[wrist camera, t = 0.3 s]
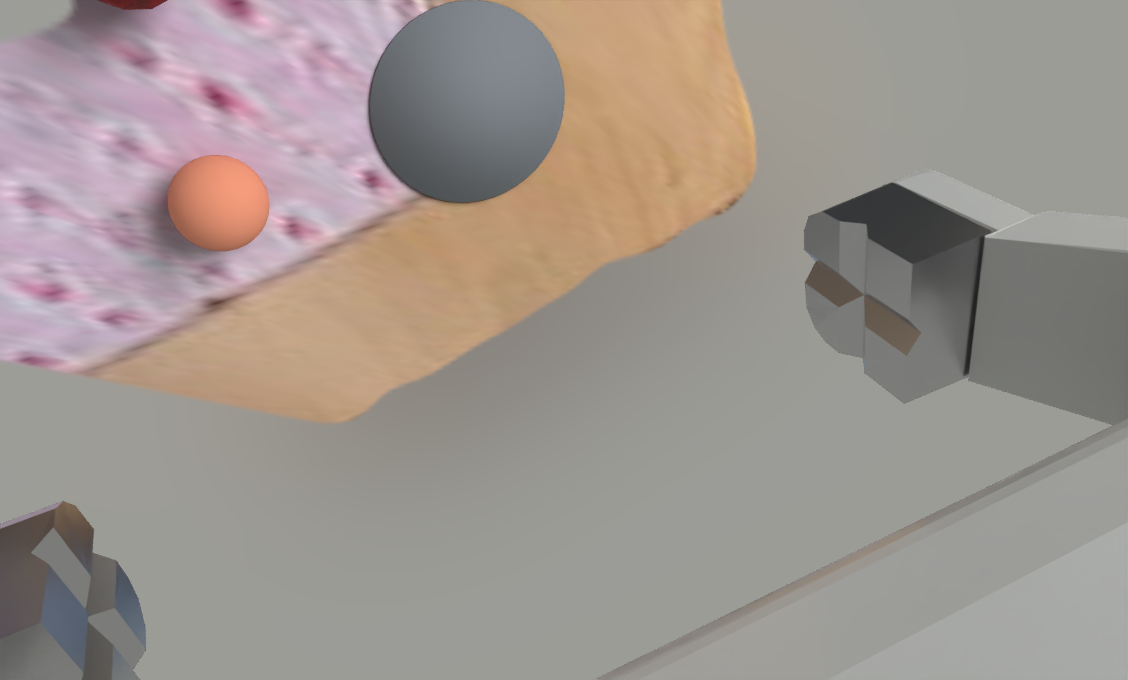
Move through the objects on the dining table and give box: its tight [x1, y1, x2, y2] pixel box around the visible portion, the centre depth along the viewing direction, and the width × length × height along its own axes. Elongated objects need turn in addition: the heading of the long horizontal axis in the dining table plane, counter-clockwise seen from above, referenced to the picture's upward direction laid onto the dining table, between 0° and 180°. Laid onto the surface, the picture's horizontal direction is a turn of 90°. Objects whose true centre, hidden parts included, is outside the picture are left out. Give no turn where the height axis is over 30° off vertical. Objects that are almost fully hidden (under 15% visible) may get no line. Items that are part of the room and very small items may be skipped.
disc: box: [370, 0, 564, 202], centre depth 56 cm, size 13×13×1 cm
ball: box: [167, 155, 269, 251], centre depth 51 cm, size 6×6×6 cm
